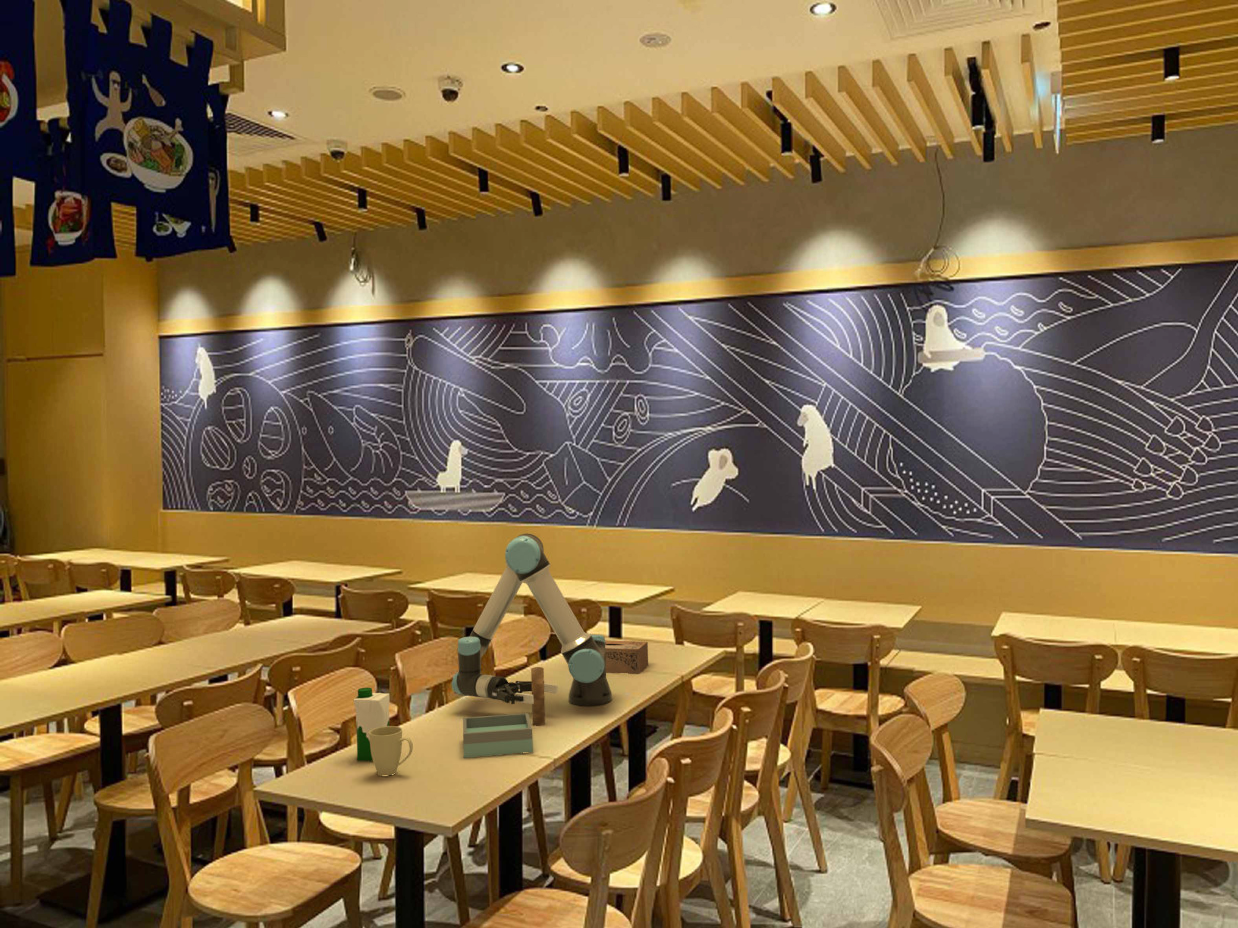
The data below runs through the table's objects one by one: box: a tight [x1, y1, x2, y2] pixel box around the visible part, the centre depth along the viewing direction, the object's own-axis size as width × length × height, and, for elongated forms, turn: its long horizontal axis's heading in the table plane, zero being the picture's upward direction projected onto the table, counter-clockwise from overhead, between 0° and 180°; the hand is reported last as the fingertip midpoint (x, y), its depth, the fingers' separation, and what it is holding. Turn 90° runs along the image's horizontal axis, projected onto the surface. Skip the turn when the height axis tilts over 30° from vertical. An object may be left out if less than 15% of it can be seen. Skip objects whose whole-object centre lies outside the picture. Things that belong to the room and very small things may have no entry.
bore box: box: [462, 712, 534, 759], centre depth 288 cm, size 20×17×7 cm
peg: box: [530, 666, 546, 727], centre depth 310 cm, size 4×4×18 cm
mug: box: [369, 725, 414, 776], centre depth 266 cm, size 11×10×12 cm
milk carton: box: [353, 687, 390, 762], centre depth 281 cm, size 9×9×20 cm
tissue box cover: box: [605, 639, 649, 675], centre depth 384 cm, size 26×14×10 cm, turn 74°
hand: (545, 694), depth 308 cm, fingers open, 13 cm apart
